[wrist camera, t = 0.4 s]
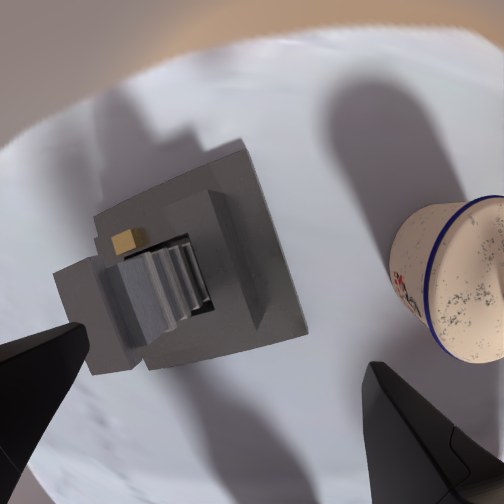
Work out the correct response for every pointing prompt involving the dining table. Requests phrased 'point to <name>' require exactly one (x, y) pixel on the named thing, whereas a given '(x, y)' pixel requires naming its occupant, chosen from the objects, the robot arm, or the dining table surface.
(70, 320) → the column
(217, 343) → the stand base
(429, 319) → the teacup with lid
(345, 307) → the dining table surface
